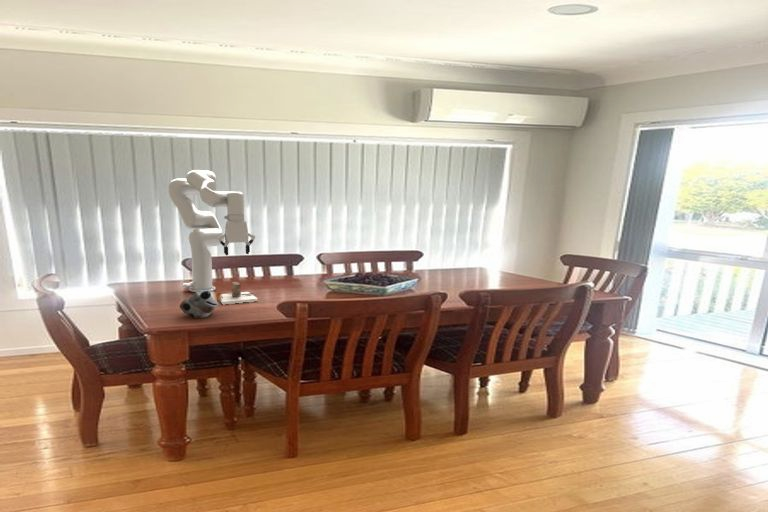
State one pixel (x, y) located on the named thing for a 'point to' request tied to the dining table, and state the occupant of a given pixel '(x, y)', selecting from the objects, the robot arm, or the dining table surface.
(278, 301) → the dining table surface
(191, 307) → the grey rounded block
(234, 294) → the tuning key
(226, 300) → the dial board
